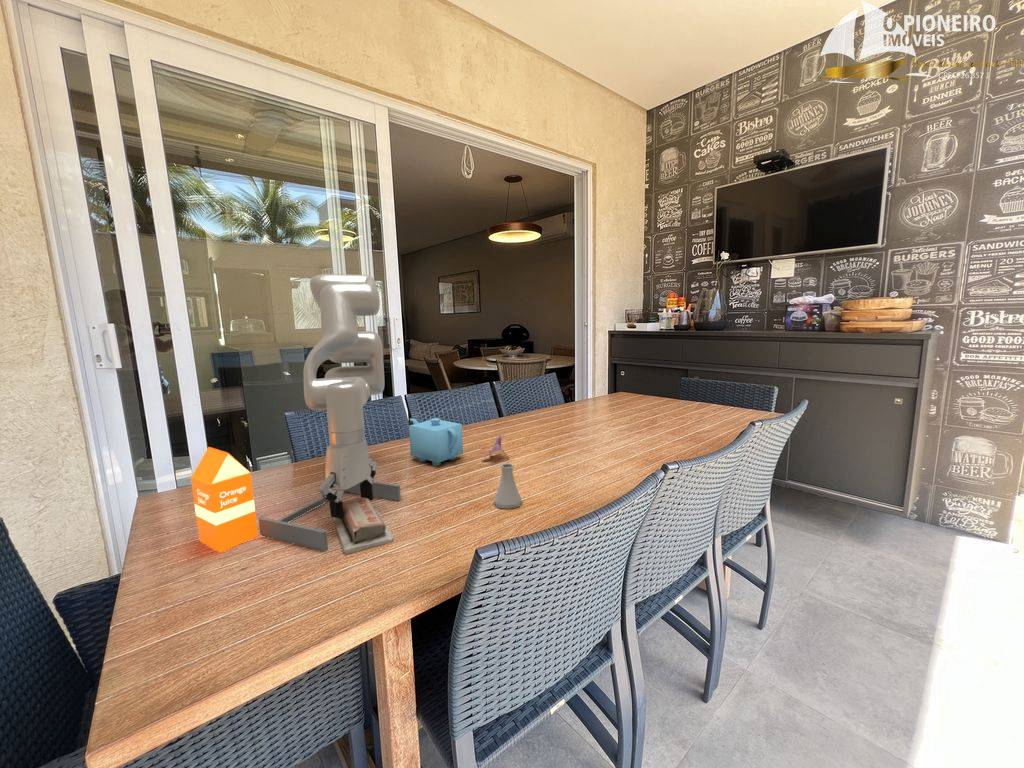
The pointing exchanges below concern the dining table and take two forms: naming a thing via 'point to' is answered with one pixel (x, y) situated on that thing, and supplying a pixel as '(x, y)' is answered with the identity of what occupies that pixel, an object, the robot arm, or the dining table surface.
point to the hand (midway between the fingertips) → (352, 508)
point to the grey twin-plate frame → (312, 535)
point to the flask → (507, 489)
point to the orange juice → (223, 501)
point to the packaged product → (361, 526)
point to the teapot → (435, 440)
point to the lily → (497, 446)
